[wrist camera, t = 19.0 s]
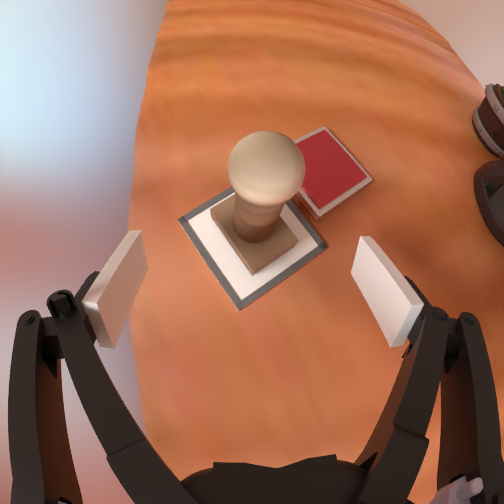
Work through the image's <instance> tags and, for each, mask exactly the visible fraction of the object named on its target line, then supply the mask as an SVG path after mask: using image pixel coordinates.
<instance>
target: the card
mask: <svg viewBox="0 0 504 504" xmlns="http://www.w3.org/2000/svg"><path fill="white" fill-rule="evenodd" d="M234 194H235V190H234V189H233V187H230V188H228V189H227V190H225V191H223V192H221V193H220V194H218V195H216V196H215V197H213V198H211V199H210V200H208V201H206V202H205V203H203V204H202V205H200V206H198V207H197V208H195V209H193V210H192V211H190V212H189V213H187V214H185V215H184V216H182V217H181V218H179V219H178V221H179V223H180V224H181V226H182V227H183V229H184V231H185V232H186V234H187V235H188V237H189V238H190V240H191V241H192V243H193V244H194V246H195V247H196V249H197V250H198V252H199V253H200V255H201V256H202V258H203V259H204V261H205V262H206V264H207V265H208V267H209V268H210V270H211V271H212V273H213V274H214V276H215V277H216V279H217V280H218V282H219V283H220V285H221V286H222V288H223V289H224V290H225V292H226V293H227V295H228V296H229V298H230V299H231V300H232V302H233V303H234V305H235V306H236V308H237V309H238V310H239V311H240V310H241V309H243V308H244V307H246V306H247V305H249V304H250V303H251V302H253V301H254V300H256V299H257V298H259V297H260V296H261V295H263V294H264V293H266V292H267V291H268V290H270V289H271V288H273V287H274V286H276V285H277V284H278V283H280V282H281V281H283V280H284V279H285V278H287V277H288V276H289V275H291V274H292V273H294V272H295V271H296V270H298V269H299V268H300V267H302V266H303V265H305V264H306V263H307V262H309V261H310V260H311V259H313V258H314V257H315V256H317V255H318V254H319V253H321V252H322V251H323V250H325V249H326V248H327V246H326V244H325V243H324V242H323V240H322V239H321V238H320V236H319V235H318V234H317V232H316V231H315V230H314V228H313V227H312V226H311V225H310V223H309V222H308V221H307V219H306V218H305V217H304V216H303V214H302V213H301V212H300V210H299V209H298V208H297V207H296V205H295V204H294V203H293V202H292V200H291V199H290V200H288V201H287V202H285V204H284V206H283V209H282V211H281V213H280V216H281V218H282V219H283V220H284V222H285V223H286V224H287V225H288V227H289V228H290V229H291V231H292V232H293V233H294V235H295V236H296V237H297V239H298V240H299V241H298V242H297V244H296V245H295V246H294V247H293V248H292V249H290V250H289V251H287V252H286V253H285V254H283V255H282V256H280V257H279V258H277V259H276V260H274V261H273V262H272V263H270V264H269V265H267V266H266V267H264V268H263V269H261V270H260V271H258V272H257V273H256V274H254V275H253V276H252V275H251V274H250V272H249V271H248V270H247V268H246V267H245V265H244V264H243V263H242V261H241V260H240V258H239V257H238V255H237V254H236V253H235V251H234V250H233V248H232V247H231V246H230V244H229V243H228V241H227V240H226V238H225V237H224V236H223V234H222V233H221V231H220V230H219V228H218V227H217V226H216V224H215V223H214V221H213V220H212V218H211V214H210V209H211V208H212V207H214V206H215V205H217V204H219V203H220V202H222V201H224V200H225V199H227V198H229V197H230V196H232V195H234Z"/></svg>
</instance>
